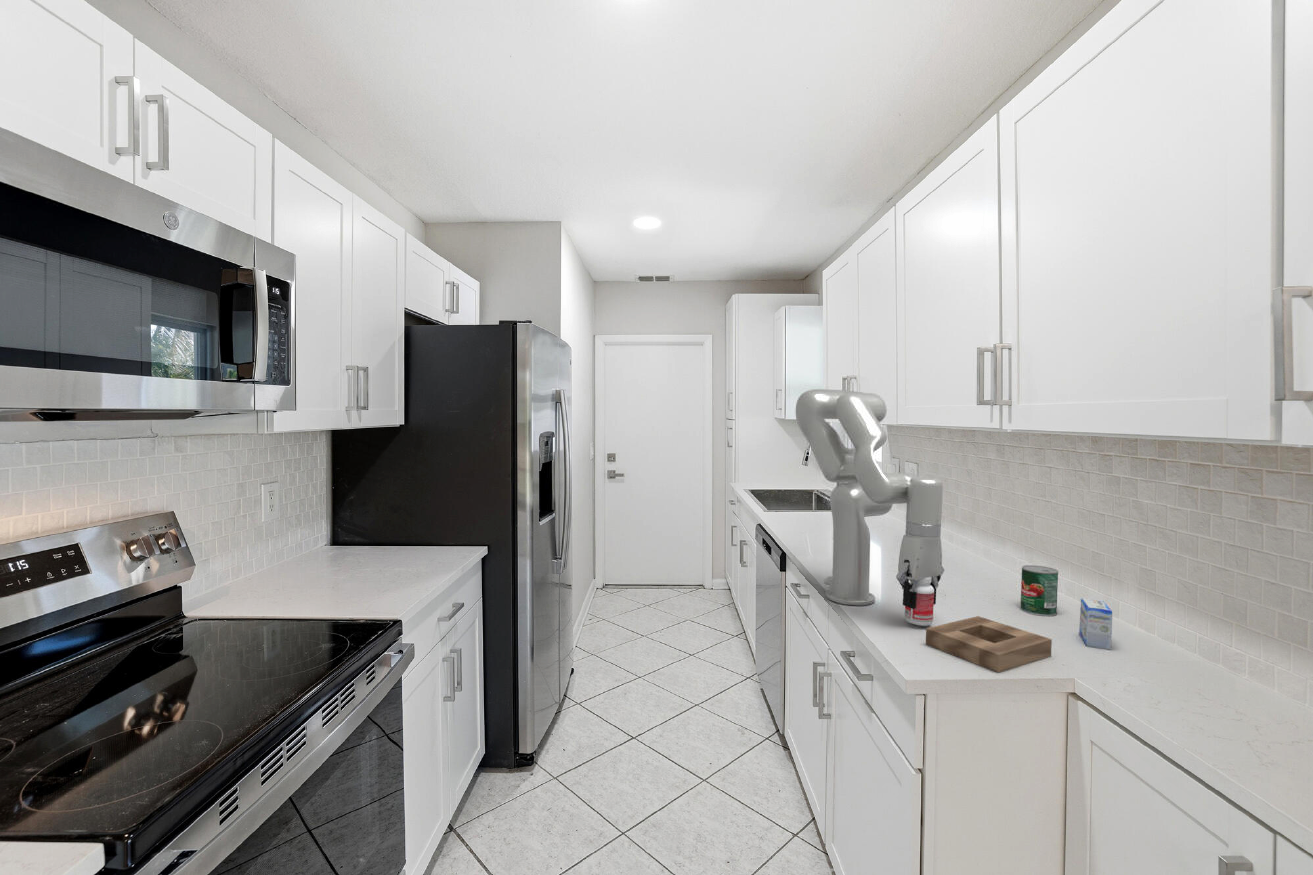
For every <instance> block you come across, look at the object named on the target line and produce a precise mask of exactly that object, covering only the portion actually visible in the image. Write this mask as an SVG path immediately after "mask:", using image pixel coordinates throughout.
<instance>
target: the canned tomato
mask: <svg viewBox="0 0 1313 875" xmlns="http://www.w3.org/2000/svg"><path fill="white" fill-rule="evenodd" d="M1058 582H1059V570H1058V569H1056V568H1054V567H1049V566H1044V565H1035V564H1034V565H1033V564H1032V565H1031V564H1027V565H1022V566H1021V582H1020V583H1021V584H1020V587H1021V588H1020V607H1019V608H1020V610H1021V611H1022V612H1024V613H1026V614H1030V615H1036V616H1041V617H1054V616H1057V614H1058V613H1057V612H1058V611H1057V610H1058V609H1057V608H1058V589H1059V588H1058V586H1059V584H1058Z"/></svg>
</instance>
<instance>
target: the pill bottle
mask: <svg viewBox="0 0 1313 875" xmlns="http://www.w3.org/2000/svg"><path fill="white" fill-rule="evenodd" d="M910 577H912V575H910ZM909 583H910V584H911V583H912V580H909ZM930 583H931V577H930V578H925V579H921V580H918V582H917V585H916V588H915V592H917V596H916V608H915V609H912V608H909V607H906V606H904V620H905V621H906V622H908V623H909V624H913V625H917V626H923V627H925V626H930V625H932V624H933V622H934V606H935V605H934V588H933V587H932V586H931V585H930Z"/></svg>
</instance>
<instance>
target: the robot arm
mask: <svg viewBox="0 0 1313 875" xmlns="http://www.w3.org/2000/svg"><path fill="white" fill-rule="evenodd" d="M887 412H888V410H887V405H886V403H885V401H884V399H883V398H882V397H881V396H880V395H878V394H876V393H872V392H871V393H870V392H862V391H861V392H860V391H855V390H845V389H826V388H825V389H823V388H817V389H809V390H807V391H804V392H803V393H801V394H800V395H799V396H798V398H797V400H796V404H795V418H796V424H797V425H798V427H799V429H800V431H801V433H802V434H803V436H804V438H805V439H806V441H807V443H808V445H809V447H810V449H811V451H812V453H813V454H812V455H813V456H814V458H815V461H816V463H817V464H818V466H819V469H820V471H821V473H822V475H823V477H824V478H825V480H827V481H828V482H831V483H834V484H835V483H836V484H837V483H839V484H838V485H836V486H835V487H834V488H833V489H832V490H831V492H830V497H829V504H830V511H831V516H832V529H833V530H832V532H833V533H832V534H833V535H832V536H833V537H832V541H833V542H832V546H833V547H832V576H831V575H829V576H827V577H826V578H825V579H824V580H823V584H824V585H827V586H829V589H828V590H827V591H826V592H825V596H826V598H827V599H828V600H830V601H832V602H834V603H838V604H842V605H847V606H869V605H873V604H874V603H875V601H876V596H875V595H874V594H873V593H871V592H870V572H871V571H870V569H871V568H870V566H871V565H870V564H871V563H870V562H871V533H870V532H871V531H870V528H869V526H868V524H867V522H866V520H865V518H866V517H868V518H869V517H878V516H879V517H880V516H883V515H886V514H888V513H889V512H890V511H891V509H892V508H893V505H895V504H896V505H897V504H902V505H903V504H906V514H905V516H906V517H905V533H904V535H903V536H902V539H901V544H900V550H899V556H898V565H897V566H898V567H897V573H896V575H895V577H896V578H895V579H897V581H898V582H899V585H900V586H901V589H902V590H903V591H902V593H903V594H902V605H903V607H905V606H906V607H909V608H912V609H915V608H916V596H917V592H915V588H916V585H917V582H918V580H921V579H925V578H930V577H931V583H930V585H931V586H932V587H933V588H934V606H935V605H936V602H937V588H938V587H939V582H940V580H942V579H941V578H942V575H943V574H944V572H945V568H944V566H942V564H943V563H942V562H943V551H942V550H943V549H942V539H941V533H942V532H941V531H942V530H941V529H942V514H943V512H942V511H943V492H944V485H943V481H942V480H941V479H939V478H934V477H929V476H920V475H917V474H915V473H911V472H883V471H882V470H881V467H880V465H879V464H878V462H877V460H876V458H875V454H874V453H875V452H877V450H880V448H881V447H883V446H884V445H885V443H886V441H887V438H888V435H887V432H886V430H884V428H883V426H882V425H881V422H882V421H883V420H884V419H885V417H886V416H887ZM826 420H838V421H839V422H840V424H841V426H842V428H843V430H844V431H845V433H846V435H847V436H848V438H849V440H850V442H851V443H852V445H853V446H854V448H848V447H847V446H845V444H844V443H843V441H842V439H841V438H840V435H839V433H838V431H837V430H836V429H835V428H834V427H833V426H832V425H830V423H828V422H827V421H826ZM910 575H912V577H910ZM910 580H912V583H911V584H910Z"/></svg>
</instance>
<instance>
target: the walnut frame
mask: <svg viewBox="0 0 1313 875" xmlns="http://www.w3.org/2000/svg"><path fill="white" fill-rule="evenodd" d="M925 628H926V629H925V645H926V646H929V647H932V648H934V649H937V650H939V651H941V652H944V653H946V654H949V655H952V656H955V657H957V658H959V659H961V660H965V661H968V662H970V663H973V664H976V665H978V666H980V667H983V668H985V669H988V670H991V671H993V672H996V673H998V674H999V673H1001V672H1006V671H1008V670H1011V669H1015V668H1018V667H1021V666H1024V665H1027V664H1029V663H1034V662H1037V661H1040V660H1043V659H1047V658H1049V657H1052V641H1053V640H1052V638H1049V637H1046V636H1043V635H1039V634H1036V633H1034V632H1030V631H1026V630H1023V629H1021V628H1018V627H1014V626H1011V625H1008V624H1004V623H1001V622H999V621H996V620H995V621H994V620H991V619H990V618H989V619H988V618H985V617H983V616H979V615H977V616H973V617H968V618H964V619H960V620H956V621H952V622H947V623H944V624H938V625H935V626H931V627H925Z"/></svg>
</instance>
